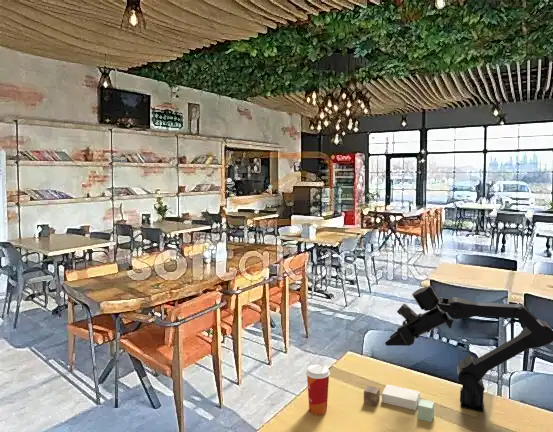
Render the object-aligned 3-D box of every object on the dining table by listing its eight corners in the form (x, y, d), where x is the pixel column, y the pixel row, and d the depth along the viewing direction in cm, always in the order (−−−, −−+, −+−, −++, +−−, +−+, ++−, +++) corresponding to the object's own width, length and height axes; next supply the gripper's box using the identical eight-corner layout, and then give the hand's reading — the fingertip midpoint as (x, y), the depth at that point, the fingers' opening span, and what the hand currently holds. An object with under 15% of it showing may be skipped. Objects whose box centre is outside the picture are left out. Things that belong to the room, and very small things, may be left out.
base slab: (419, 400, 146) (419, 391, 145) (415, 410, 139) (415, 401, 139) (386, 392, 151) (386, 384, 150) (381, 402, 144) (381, 393, 144)
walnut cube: (379, 400, 145) (379, 388, 145) (376, 406, 142) (376, 393, 141) (367, 397, 147) (367, 385, 147) (363, 403, 144) (363, 390, 143)
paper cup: (312, 401, 145) (312, 361, 144) (333, 408, 141) (333, 366, 140) (301, 413, 138) (301, 371, 137) (323, 419, 134) (323, 376, 133)
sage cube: (433, 415, 136) (434, 401, 136) (431, 422, 133) (432, 408, 132) (419, 412, 138) (420, 398, 138) (417, 418, 135) (417, 405, 134)
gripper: (418, 295, 154) (380, 315, 160) (412, 303, 137) (370, 324, 143) (436, 324, 152) (397, 343, 157) (431, 335, 135) (388, 356, 140)
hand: (388, 341), depth 149 cm, fingers open, 9 cm apart
